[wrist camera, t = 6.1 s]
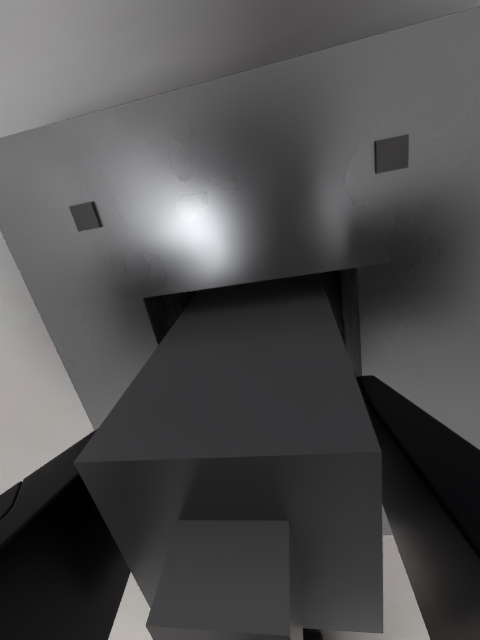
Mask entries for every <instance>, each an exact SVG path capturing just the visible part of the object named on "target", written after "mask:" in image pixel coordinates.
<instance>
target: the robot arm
mask: <svg viewBox="0 0 480 640" xmlns="http://www.w3.org/2000/svg"><path fill="white" fill-rule="evenodd" d="M356 380H357V383H358V386H359V388H360V391H361V394H362V397H363V400H364V403H365V406H366V409H367V411H368V414H369V417H370V420H371V423H372V426H373V429H374V431H375V434H376V437H377V440H378V443H379V446H380V449H381V452H382V505H383V508H384V511H385V513H386V516H387V519H388V522H389V525H390V527H391V530H392V533H393V536H394V539H395V541H396V544H397V547H398V550H399V553H400V555H401V558H402V561H403V564H404V567H405V569H406V572H407V575H408V578H409V581H410V583H411V586H412V589H413V592H414V595H415V597H416V600H417V603H418V606H419V608H420V611H421V614H422V617H423V620H424V622H425V625H426V628H427V631H428V634H429V636H430V639H431V640H480V449H478V448H477V447H475V446H474V445H473V444H471V443H470V442H468V441H467V440H465V439H464V438H463V437H461V436H460V435H458V434H457V433H455V432H454V431H453V430H451V429H450V428H448V427H447V426H445V425H444V424H443V423H441V422H440V421H438V420H437V419H435V418H434V417H432V416H431V415H430V414H428V413H427V412H425V411H424V410H422V409H421V408H420V407H418V406H417V405H415V404H414V403H412V402H411V401H410V400H408V399H407V398H405V397H404V396H402V395H401V394H400V393H398V392H397V391H395V390H394V389H392V388H391V387H390V386H388V385H387V384H385V383H384V382H382V381H381V380H380V379H378V378H377V377H375V376H373V375H367V376H357V377H356ZM96 431H97V429H96V430H95V431H93V432H92V433H90V434H89V435H87V436H86V437H84V438H83V439H82V440H80V441H79V442H77V443H76V444H74V445H73V446H71V447H70V448H68V449H67V450H66V451H64V452H63V453H61V454H60V455H58V456H57V457H55V458H54V459H52V460H51V461H49V462H48V463H47V464H45V465H44V466H42V467H41V468H39V469H38V470H36V471H35V472H33V473H32V474H30V475H29V476H28V477H26V478H25V479H24V480H23V482H22V481H21V482H19V483H17V484H16V485H14V486H13V487H11V488H10V489H8V490H7V491H6V492H4V493H3V494H1V495H0V640H108V638H109V635H110V632H111V629H112V626H113V623H114V620H115V617H116V614H117V611H118V608H119V605H120V602H121V599H122V596H123V593H124V590H125V587H126V584H127V581H128V578H129V575H130V572H131V570H130V569H129V567H128V565H127V563H126V561H125V559H124V557H123V555H122V553H121V551H120V550H119V548H118V546H117V544H116V542H115V540H114V538H113V536H112V534H111V533H110V531H109V529H108V527H107V525H106V523H105V521H104V519H103V517H102V516H101V514H100V512H99V510H98V508H97V506H96V504H95V502H94V500H93V499H92V497H91V495H90V493H89V491H88V489H87V487H86V485H85V483H84V482H83V480H82V478H81V476H80V474H79V472H78V470H77V468H76V466H75V465H74V463H73V462H74V461H75V460H76V458H77V457H78V456H79V454H80V453H81V451H82V450H83V449H84V447H85V446H86V445H87V443H88V442H89V440H90V439H91V438H92V436H93V435H94V433H95V432H96ZM303 640H323V635H322V634H321V633H319V632H316V631H304V630H303Z"/></svg>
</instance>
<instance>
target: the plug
mask: <svg viewBox="0 0 480 640" xmlns="http://www.w3.org/2000/svg"><path fill="white" fill-rule="evenodd" d="M73 463H74V465H75V466H76V468H77V470H78V472H79V474H80V476H81V478H82V480H83V482H84V483H85V485H86V487H87V489H88V491H89V493H90V495H91V497H92V499H93V500H94V502H95V504H96V506H97V508H98V510H99V512H100V514H101V516H102V517H103V519H104V521H105V523H106V525H107V527H108V529H109V531H110V533H111V534H112V536H113V538H114V540H115V542H116V544H117V546H118V548H119V550H120V551H121V553H122V555H123V557H124V559H125V561H126V563H127V565H128V567H129V569H130V570H131V572H132V574H133V576H134V578H135V580H136V582H137V584H138V586H139V587H140V589H141V591H142V593H143V595H144V597H145V599H146V601H147V603H148V604H149V606H150V608H151V610H150V613H149V616H148V620H147V623H146V627H147V629H148V631H149V633H150V634H151V636H152V638H153V640H303V628H308V629H323V630H338V631H354V632H369V633H383V553H382V452H381V449H380V446H379V443H378V440H377V437H376V434H375V431H374V429H373V426H372V423H371V420H370V417H369V414H368V411H367V409H366V406H365V403H364V400H363V397H362V394H361V391H360V388H359V386H358V383H357V380H356V377H355V374H354V371H353V368H352V365H351V363H350V360H349V357H348V354H347V351H346V348H345V345H344V342H343V340H342V337H341V334H340V331H339V328H338V325H337V322H336V320H335V317H334V314H333V311H332V308H331V305H330V302H329V299H328V297H327V294H326V291H325V288H324V285H323V282H322V279H321V276H320V274H319V273H315V274H308V275H301V276H293V277H286V278H279V279H272V280H265V281H258V282H251V283H244V284H237V285H230V286H223V287H216V288H209V289H202V290H198V291H197V293H196V294H195V296H194V297H193V298H192V300H191V301H190V302H189V304H188V305H187V307H186V308H185V309H184V311H183V312H182V314H181V315H180V316H179V318H178V319H177V320H176V322H175V323H174V325H173V326H172V327H171V329H170V330H169V331H168V333H167V334H166V336H165V337H164V338H163V340H162V341H161V342H160V344H159V345H158V347H157V348H156V349H155V351H154V352H153V354H152V355H151V356H150V358H149V359H148V360H147V362H146V363H145V365H144V366H143V367H142V369H141V370H140V371H139V373H138V374H137V376H136V377H135V378H134V380H133V381H132V382H131V384H130V385H129V387H128V388H127V389H126V391H125V392H124V393H123V395H122V396H121V398H120V399H119V400H118V402H117V403H116V405H115V406H114V407H113V409H112V410H111V411H110V413H109V414H108V416H107V417H106V418H105V420H104V421H103V422H102V424H101V425H100V427H99V428H98V429H97V431H96V432H95V433H94V435H93V436H92V438H91V439H90V440H89V442H88V443H87V445H86V446H85V447H84V449H83V450H82V451H81V453H80V454H79V456H78V457H77V458H76V460H75V461H74V462H73Z"/></svg>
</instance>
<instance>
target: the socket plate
mask: <svg viewBox="0 0 480 640" xmlns="http://www.w3.org/2000/svg"><path fill="white" fill-rule="evenodd" d="M0 230H1V233H2V235H3V237H4V239H5V241H6V243H7V245H8V247H9V250H10V252H11V254H12V256H13V258H14V260H15V262H16V264H17V267H18V269H19V271H20V273H21V275H22V277H23V279H24V281H25V284H26V286H27V288H28V290H29V292H30V294H31V296H32V298H33V301H34V303H35V305H36V307H37V309H38V311H39V313H40V315H41V318H42V320H43V322H44V324H45V326H46V328H47V330H48V332H49V335H50V337H51V339H52V341H53V343H54V345H55V347H56V349H57V352H58V354H59V356H60V358H61V360H62V362H63V364H64V366H65V369H66V371H67V373H68V375H69V377H70V379H71V381H72V383H73V386H74V388H75V390H76V392H77V394H78V396H79V398H80V400H81V403H82V405H83V407H84V409H85V411H86V413H87V415H88V417H89V420H90V422H91V424H92V426H93V428H94V430H96V429H98V428H99V427H100V425H101V424H102V422H103V421H104V420H105V418H106V417H107V416H108V414H109V413H110V411H111V410H112V409H113V407H114V406H115V405H116V403H117V402H118V400H119V399H120V398H121V396H122V395H123V393H124V392H125V391H126V389H127V388H128V387H129V385H130V384H131V382H132V381H133V380H134V378H135V377H136V376H137V374H138V373H139V371H140V370H141V369H142V367H143V366H144V365H145V363H146V362H147V360H148V359H149V358H150V356H151V355H152V354H153V352H154V351H155V349H156V348H157V347H158V345H159V344H160V342H161V341H162V340H163V338H164V337H165V336H166V334H167V333H168V331H169V330H170V329H171V327H172V326H173V325H174V323H175V322H176V320H177V319H178V318H179V316H180V315H181V314H182V312H183V311H184V309H185V308H186V307H187V303H186V299H185V296H184V292H188V291H195V290H202V289H209V288H216V287H223V286H230V285H237V284H244V283H251V282H258V281H265V280H272V279H279V278H286V277H293V276H301V275H308V274H315V273H322V272H329V271H336V270H340V274H341V289H342V304H343V319H344V334H345V348H346V351H347V354H348V357H349V360H350V363H351V365H352V368H353V371H354V374H355V377H357V376H367V375H373V376H375V377H377V378H378V379H380V380H381V381H382V382H384V383H385V384H387V385H388V386H390V387H391V388H392V389H394V390H395V391H397V392H398V393H400V394H401V395H402V396H404V397H405V398H407V399H408V400H410V401H411V402H412V403H414V404H415V405H417V406H418V407H420V408H421V409H422V410H424V411H425V412H427V413H428V414H430V415H431V416H432V417H434V418H435V419H437V420H438V421H440V422H441V423H443V424H444V425H445V426H447V427H448V428H450V429H451V430H453V431H454V432H455V433H457V434H458V435H460V436H461V437H463V438H464V439H465V440H467V441H468V442H470V443H471V444H473V445H474V446H475V447H477V448H478V449H480V6H479V7H476V8H472V9H468V10H465V11H461V12H458V13H454V14H450V15H447V16H443V17H439V18H436V19H432V20H428V21H425V22H421V23H418V24H414V25H410V26H407V27H403V28H399V29H396V30H392V31H388V32H385V33H381V34H377V35H374V36H370V37H367V38H363V39H359V40H356V41H352V42H348V43H345V44H341V45H337V46H334V47H330V48H326V49H323V50H319V51H316V52H312V53H308V54H305V55H301V56H297V57H294V58H290V59H286V60H283V61H279V62H275V63H272V64H268V65H265V66H261V67H257V68H254V69H250V70H246V71H243V72H239V73H235V74H232V75H228V76H225V77H221V78H217V79H214V80H210V81H206V82H203V83H199V84H195V85H192V86H188V87H184V88H181V89H177V90H174V91H170V92H166V93H163V94H159V95H155V96H152V97H148V98H144V99H141V100H137V101H133V102H130V103H126V104H123V105H119V106H115V107H112V108H108V109H104V110H101V111H97V112H93V113H90V114H86V115H82V116H79V117H75V118H72V119H68V120H64V121H61V122H57V123H53V124H50V125H46V126H42V127H39V128H35V129H32V130H28V131H24V132H21V133H17V134H13V135H10V136H6V137H2V138H0ZM382 535H393V533H392V530H391V527H390V525H389V522H388V519H387V516H386V513H385V511H384V508H383V505H382Z"/></svg>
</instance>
